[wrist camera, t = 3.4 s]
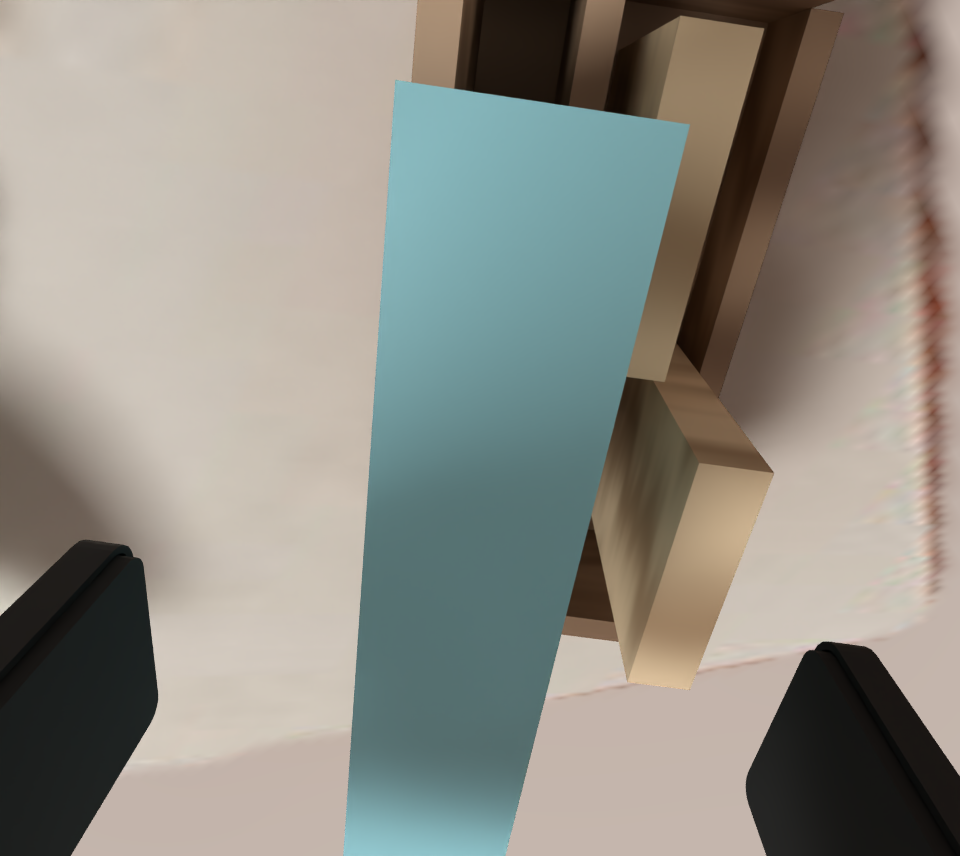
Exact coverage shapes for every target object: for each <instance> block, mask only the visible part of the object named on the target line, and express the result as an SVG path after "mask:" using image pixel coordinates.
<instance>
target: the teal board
mask: <svg viewBox="0 0 960 856" xmlns="http://www.w3.org/2000/svg"><path fill="white" fill-rule="evenodd" d="M689 127H690V124H684V123H677V122H670V121H664V120H657V119H650V118H644V117H637V116H631V115H624V114H617V113H611V112H604V111H597V110H591V109H584V108H578V107H571V106H564V105H558V104H551V103H544V102H538V101H531V100H525V99H518V98H511V97H505V96H498V95H491V94H485V93H478V92H471V91H465V90H458V89H452V88H445V87H438V86H432V85H425V84H418V83H412V82H405V81H399V80H395V93H394V108H393V123H392V138H391V153H390V168H389V183H388V198H387V213H386V228H385V243H384V258H383V272H382V287H381V302H380V317H379V332H378V347H377V362H376V377H375V392H374V407H373V422H372V437H371V451H370V466H369V481H368V496H367V511H366V526H365V541H364V556H363V571H362V586H361V601H360V616H359V630H358V645H357V660H356V675H355V690H354V705H353V720H352V735H351V750H350V766H349V780H348V795H347V809H346V810H347V811H346V825H345V841H344V855H343V856H505V855H506V851H507V847H508V843H509V839H510V835H511V831H512V827H513V823H514V819H515V815H516V811H517V807H518V803H519V799H520V796H521V792H522V788H523V784H524V779H525V776H526V772H527V768H528V764H529V760H530V756H531V752H532V748H533V744H534V740H535V736H536V732H537V728H538V724H539V720H540V716H541V712H542V709H543V705H544V701H545V697H546V693H547V689H548V685H549V681H550V677H551V673H552V669H553V665H554V661H555V657H556V653H557V649H558V645H559V641H560V637H561V633H562V629H563V625H564V621H565V618H566V614H567V610H568V606H569V602H570V598H571V594H572V590H573V586H574V582H575V578H576V574H577V570H578V566H579V562H580V558H581V554H582V550H583V546H584V542H585V538H586V534H587V530H588V527H589V523H590V519H591V515H592V511H593V507H594V503H595V499H596V495H597V491H598V487H599V483H600V479H601V475H602V471H603V467H604V463H605V459H606V455H607V451H608V447H609V443H610V439H611V436H612V432H613V428H614V424H615V420H616V416H617V412H618V408H619V404H620V400H621V396H622V392H623V388H624V384H625V380H626V376H627V372H628V368H629V364H630V360H631V356H632V352H633V348H634V345H635V341H636V337H637V333H638V329H639V325H640V321H641V317H642V313H643V309H644V305H645V301H646V297H647V293H648V289H649V285H650V281H651V277H652V273H653V269H654V265H655V261H656V257H657V254H658V250H659V246H660V242H661V238H662V234H663V230H664V226H665V222H666V218H667V214H668V210H669V206H670V202H671V198H672V194H673V190H674V186H675V182H676V178H677V174H678V170H679V166H680V163H681V159H682V155H683V151H684V147H685V143H686V139H687V135H688V131H689Z"/></svg>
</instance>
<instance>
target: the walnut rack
mask: <svg viewBox="0 0 960 856" xmlns="http://www.w3.org/2000/svg"><path fill="white" fill-rule="evenodd" d="M831 1H834V0H418V3H417V16H416V29H415V42H414V55H413V68H412V81H411V82H412V83H418V84H425V85H432V86H438V87H445V88H452V89H458V90H465V91H471V92H478V93H485V94H491V95H498V96H505V97H511V98H518V99H525V100H531V101H538V102H544V103H551V104H558V105H564V106H571V107H578V108H584V109H591V110H597V111H604V112H607V109H608V103H609V98H610V93H611V88H612V83H613V78H614V73H615V68H616V63H617V58H618V53H619V50H621V49H623V48H624V47H626V46H628V45H630V44H631V43H633V42H635V41H637V40H638V39H640V38H642V37H644V36H645V35H647V34H649V33H651V32H653V31H654V30H656V29H658V28H660V27H661V26H663V25H665V24H667V23H668V22H670V21H672V20H674V19H676V18H677V17H679V16H686V17H693V18H699V19H706V20H712V21H718V22H725V23H731V24H738V25H744V26H751V27H757V28H763V29H764V32H763V35H762V39H761V43H760V46H759V50H758V53H757V57H756V60H755V64H754V67H753V71H752V74H751V78H750V82H749V85H748V89H747V92H746V96H745V99H744V103H743V106H742V110H741V113H740V117H739V120H738V124H737V128H736V131H735V135H734V138H733V142H732V145H731V149H730V152H729V156H728V159H727V163H726V167H725V170H724V174H723V177H722V181H721V184H720V188H719V191H718V195H717V198H716V202H715V206H714V209H713V213H712V216H711V220H710V223H709V227H708V230H707V234H706V237H705V241H704V245H703V248H702V252H701V255H700V259H699V262H698V266H697V269H696V273H695V276H694V280H693V283H692V287H691V291H690V294H689V298H688V301H687V305H686V308H685V312H684V315H683V319H682V322H681V326H680V330H679V333H678V337H677V340H676V343H677V344H678V346H679V347H680V348H681V350H682V351H683V352H684V354H685V355H686V356H687V358H688V359H689V360H690V362H691V363H692V364H693V366H694V367H695V368H696V370H697V371H698V372H699V374H700V375H701V376H702V378H703V379H704V380H705V382H706V383H707V384H708V386H709V387H710V388H711V390H712V391H713V392H714V394H715V395H716V396H717V398H719V395H720V392H721V389H722V386H723V383H724V380H725V376H726V373H727V370H728V367H729V364H730V361H731V358H732V355H733V352H734V349H735V346H736V343H737V340H738V337H739V334H740V330H741V327H742V324H743V321H744V318H745V315H746V312H747V309H748V306H749V303H750V300H751V297H752V294H753V291H754V288H755V284H756V281H757V278H758V275H759V272H760V269H761V266H762V263H763V260H764V257H765V254H766V251H767V248H768V245H769V242H770V238H771V235H772V232H773V229H774V226H775V223H776V220H777V217H778V214H779V211H780V208H781V205H782V202H783V199H784V196H785V192H786V189H787V186H788V183H789V180H790V177H791V174H792V171H793V168H794V165H795V162H796V159H797V156H798V153H799V150H800V146H801V143H802V140H803V137H804V134H805V131H806V128H807V125H808V122H809V119H810V116H811V113H812V110H813V107H814V104H815V100H816V97H817V94H818V91H819V88H820V85H821V82H822V79H823V76H824V73H825V70H826V67H827V64H828V61H829V58H830V54H831V51H832V48H833V45H834V42H835V39H836V36H837V33H838V30H839V27H840V24H841V21H842V18H843V15H844V13H840V12H833V11H827V10H821V9H814V8H813V7H816V6H819V5H822V4H825V3H828V2H831ZM561 634H562V635H570V636H578V637H586V638H594V639H602V640H609V641H617V642H619V641H618V636H617V631H616V627H615V622H614V618H613V613H612V608H611V604H610V599H609V594H608V590H607V585H606V581H605V576H604V571H603V567H602V562H601V557H600V553H599V548H598V543H597V539H596V534H595V530H594V525H593V520H592V516H591V519H590V523H589V527H588V530H587V534H586V538H585V542H584V546H583V550H582V554H581V558H580V562H579V566H578V570H577V574H576V578H575V582H574V586H573V590H572V594H571V598H570V602H569V606H568V610H567V614H566V618H565V621H564V625H563V629H562V633H561Z"/></svg>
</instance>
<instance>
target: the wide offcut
mask: <svg viewBox="0 0 960 856" xmlns="http://www.w3.org/2000/svg"><path fill="white" fill-rule="evenodd" d="M763 32H764V29H763V28H757V27H751V26H744V25H738V24H731V23H725V22H718V21H712V20H706V19H699V18H693V17H686V16H679V17H677V18H676V19H674V20H672V21H670V22H668V23H667V24H665V25H663V26H661V27H660V28H658V29H656V30H654V31H653V32H651V33H649V34H647V35H645V36H644V37H642V38H640V39H638V40H637V41H635V42H633V43H631V44H630V45H628V46H626V47H624V48H623V49H621V50H619V53H618V58H617V63H616V68H615V73H614V78H613V83H612V88H611V93H610V98H609V103H608V109H607V112H611V113H617V114H624V115H631V116H637V117H644V118H650V119H657V120H664V121H670V122H677V123H684V124H690V127H689V131H688V135H687V139H686V143H685V147H684V151H683V155H682V159H681V163H680V166H679V170H678V174H677V178H676V182H675V186H674V190H673V194H672V198H671V202H670V206H669V210H668V214H667V218H666V222H665V226H664V230H663V234H662V238H661V242H660V246H659V250H658V254H657V257H656V261H655V265H654V269H653V273H652V277H651V281H650V285H649V289H648V293H647V297H646V301H645V305H644V309H643V313H642V317H641V321H640V325H639V329H638V333H637V337H636V341H635V345H634V348H633V352H632V356H631V360H630V364H629V368H628V372H627V376H626V377H632V378H639V379H646V380H653V381H661V382H665V379H666V376H667V372H668V369H669V365H670V361H671V358H672V354H673V351H674V347H675V344H676V340H677V337H678V333H679V330H680V326H681V322H682V319H683V315H684V312H685V308H686V305H687V301H688V298H689V294H690V291H691V287H692V283H693V280H694V276H695V273H696V269H697V266H698V262H699V259H700V255H701V252H702V248H703V245H704V241H705V237H706V234H707V230H708V227H709V223H710V220H711V216H712V213H713V209H714V206H715V202H716V198H717V195H718V191H719V188H720V184H721V181H722V177H723V174H724V170H725V167H726V163H727V159H728V156H729V152H730V149H731V145H732V142H733V138H734V135H735V131H736V128H737V124H738V120H739V117H740V113H741V110H742V106H743V103H744V99H745V96H746V92H747V89H748V85H749V82H750V78H751V74H752V71H753V67H754V64H755V60H756V57H757V53H758V50H759V46H760V43H761V39H762V35H763Z"/></svg>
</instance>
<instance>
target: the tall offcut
mask: <svg viewBox="0 0 960 856" xmlns="http://www.w3.org/2000/svg"><path fill="white" fill-rule="evenodd" d="M773 475H774V472H773V471H772V470H771V468H770V467H769V466H768V464H767V463H766V462H765V460H764V459H763V458H762V456H761V455H760V454H759V452H758V451H757V450H756V448H755V447H754V446H753V444H752V443H751V442H750V440H749V439H748V438H747V436H746V435H745V434H744V432H743V431H742V430H741V428H740V427H739V426H738V424H737V423H736V422H735V420H734V419H733V418H732V416H731V415H730V414H729V412H728V411H727V410H726V408H725V407H724V406H723V404H722V403H721V402H720V400H719V399H718V398H717V396H716V395H715V394H714V392H713V391H712V390H711V388H710V387H709V386H708V384H707V383H706V382H705V380H704V379H703V378H702V376H701V375H700V374H699V372H698V371H697V370H696V368H695V367H694V366H693V364H692V363H691V362H690V360H689V359H688V358H687V356H686V355H685V354H684V352H683V351H682V350H681V348H680V347H679V346H678V344H677V343H676V344H675V347H674V351H673V354H672V358H671V361H670V365H669V369H668V372H667V376H666V379H665V382H661V381H653V380H646V379H639V378H632V377H626V380H625V384H624V388H623V392H622V396H621V400H620V404H619V408H618V412H617V416H616V420H615V424H614V428H613V432H612V436H611V439H610V443H609V447H608V451H607V455H606V459H605V463H604V467H603V471H602V475H601V479H600V483H599V487H598V491H597V495H596V499H595V503H594V507H593V511H592V515H591V516H592V520H593V525H594V530H595V534H596V539H597V543H598V548H599V553H600V557H601V562H602V567H603V571H604V576H605V581H606V585H607V590H608V594H609V599H610V604H611V608H612V613H613V618H614V622H615V627H616V631H617V636H618V641H619V645H620V650H621V655H622V659H623V664H624V669H625V673H626V678H627V682H630V683H638V684H646V685H654V686H662V687H670V688H678V689H685V690H690V688H691V685H692V683H693V680H694V678H695V675H696V672H697V670H698V667H699V665H700V662H701V660H702V657H703V654H704V652H705V649H706V647H707V644H708V642H709V639H710V637H711V634H712V631H713V629H714V626H715V624H716V621H717V619H718V616H719V613H720V611H721V608H722V606H723V603H724V601H725V598H726V596H727V593H728V590H729V588H730V585H731V583H732V580H733V578H734V575H735V572H736V570H737V567H738V565H739V562H740V560H741V557H742V555H743V552H744V549H745V547H746V544H747V542H748V539H749V537H750V534H751V531H752V529H753V526H754V524H755V521H756V519H757V516H758V513H759V511H760V508H761V506H762V503H763V501H764V498H765V496H766V493H767V490H768V488H769V485H770V483H771V480H772V478H773Z"/></svg>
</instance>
